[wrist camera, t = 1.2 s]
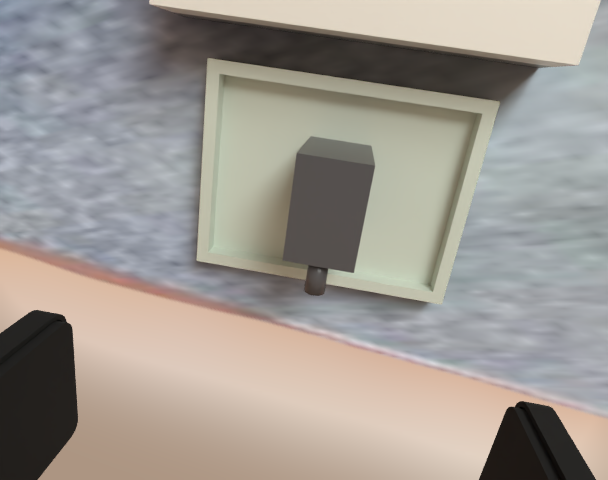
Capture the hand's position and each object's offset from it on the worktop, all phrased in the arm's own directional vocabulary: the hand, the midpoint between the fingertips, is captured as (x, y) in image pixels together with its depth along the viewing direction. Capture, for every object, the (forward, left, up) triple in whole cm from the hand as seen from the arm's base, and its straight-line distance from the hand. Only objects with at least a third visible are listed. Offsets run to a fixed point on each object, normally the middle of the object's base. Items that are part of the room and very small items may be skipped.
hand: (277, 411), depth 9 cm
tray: (0, 0, -22) cm, 22 cm away
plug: (0, +1, -22) cm, 22 cm away
